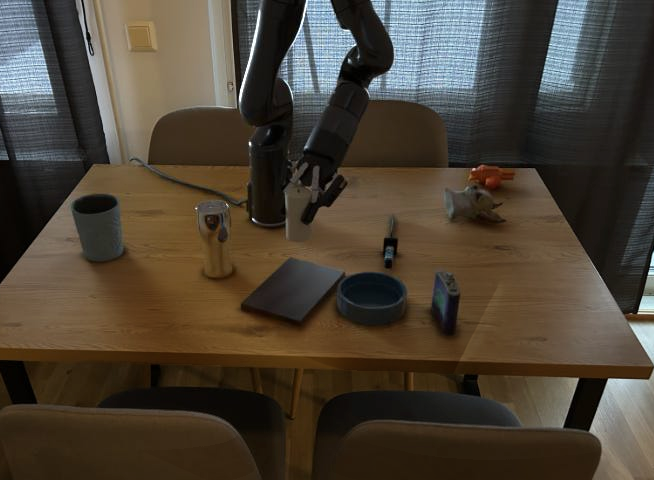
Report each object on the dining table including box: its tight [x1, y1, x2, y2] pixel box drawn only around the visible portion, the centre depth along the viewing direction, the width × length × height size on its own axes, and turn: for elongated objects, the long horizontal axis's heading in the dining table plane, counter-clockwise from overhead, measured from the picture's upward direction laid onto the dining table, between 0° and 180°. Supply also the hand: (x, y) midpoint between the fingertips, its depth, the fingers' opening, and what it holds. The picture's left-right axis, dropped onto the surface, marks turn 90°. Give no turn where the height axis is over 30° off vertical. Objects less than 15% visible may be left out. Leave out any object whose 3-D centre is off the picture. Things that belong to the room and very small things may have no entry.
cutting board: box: [240, 256, 346, 327], centre depth 129 cm, size 13×20×2 cm, turn 152°
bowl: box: [336, 271, 408, 326], centre depth 124 cm, size 13×13×4 cm
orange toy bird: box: [467, 164, 516, 190], centre depth 170 cm, size 5×8×12 cm
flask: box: [430, 269, 461, 336], centre depth 117 cm, size 9×3×11 cm, turn 8°
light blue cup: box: [70, 193, 124, 262], centre depth 140 cm, size 10×10×12 cm
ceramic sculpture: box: [443, 184, 507, 225], centre depth 154 cm, size 11×9×15 cm
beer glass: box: [195, 199, 234, 279], centre depth 132 cm, size 7×7×15 cm
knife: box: [382, 213, 399, 270], centre depth 143 cm, size 31×3×4 cm, turn 167°
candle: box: [285, 187, 313, 243], centre depth 119 cm, size 5×5×10 cm
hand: (292, 218), depth 118 cm, fingers closed on candle, 4 cm apart
